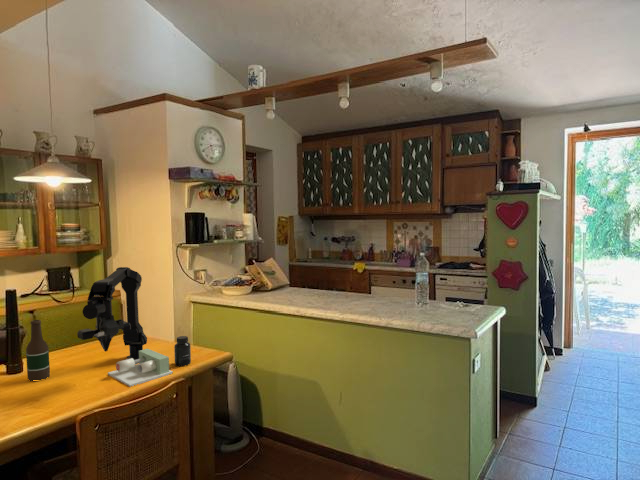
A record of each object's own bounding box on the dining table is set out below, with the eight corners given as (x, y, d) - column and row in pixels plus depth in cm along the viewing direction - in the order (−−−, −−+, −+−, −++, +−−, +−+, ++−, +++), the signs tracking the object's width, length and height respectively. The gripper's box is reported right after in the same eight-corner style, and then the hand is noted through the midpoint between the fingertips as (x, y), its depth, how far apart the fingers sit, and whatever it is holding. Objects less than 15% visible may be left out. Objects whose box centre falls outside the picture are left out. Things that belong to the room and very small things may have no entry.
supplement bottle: (186, 367, 189) (185, 339, 188) (171, 366, 191) (170, 339, 190) (193, 361, 196) (192, 335, 195) (179, 360, 197) (178, 334, 196)
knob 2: (165, 364, 187) (165, 355, 187) (170, 366, 185) (170, 356, 184) (137, 372, 178) (137, 362, 178) (142, 374, 175) (141, 365, 175)
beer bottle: (54, 375, 181) (51, 318, 179) (37, 383, 173) (33, 323, 172) (40, 373, 183) (37, 317, 182) (22, 380, 176) (19, 322, 174)
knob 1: (144, 362, 190) (143, 353, 189) (148, 364, 187) (148, 355, 187) (115, 370, 180) (114, 361, 180) (119, 373, 178) (119, 363, 177)
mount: (107, 374, 182) (107, 358, 181) (149, 362, 195) (148, 347, 195) (130, 386, 168) (129, 369, 168) (172, 373, 182) (172, 357, 181)
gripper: (87, 320, 161) (89, 361, 163) (136, 311, 176) (138, 349, 177) (75, 316, 169) (77, 355, 170) (123, 307, 183) (125, 344, 184)
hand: (105, 351), depth 175 cm, fingers closed
